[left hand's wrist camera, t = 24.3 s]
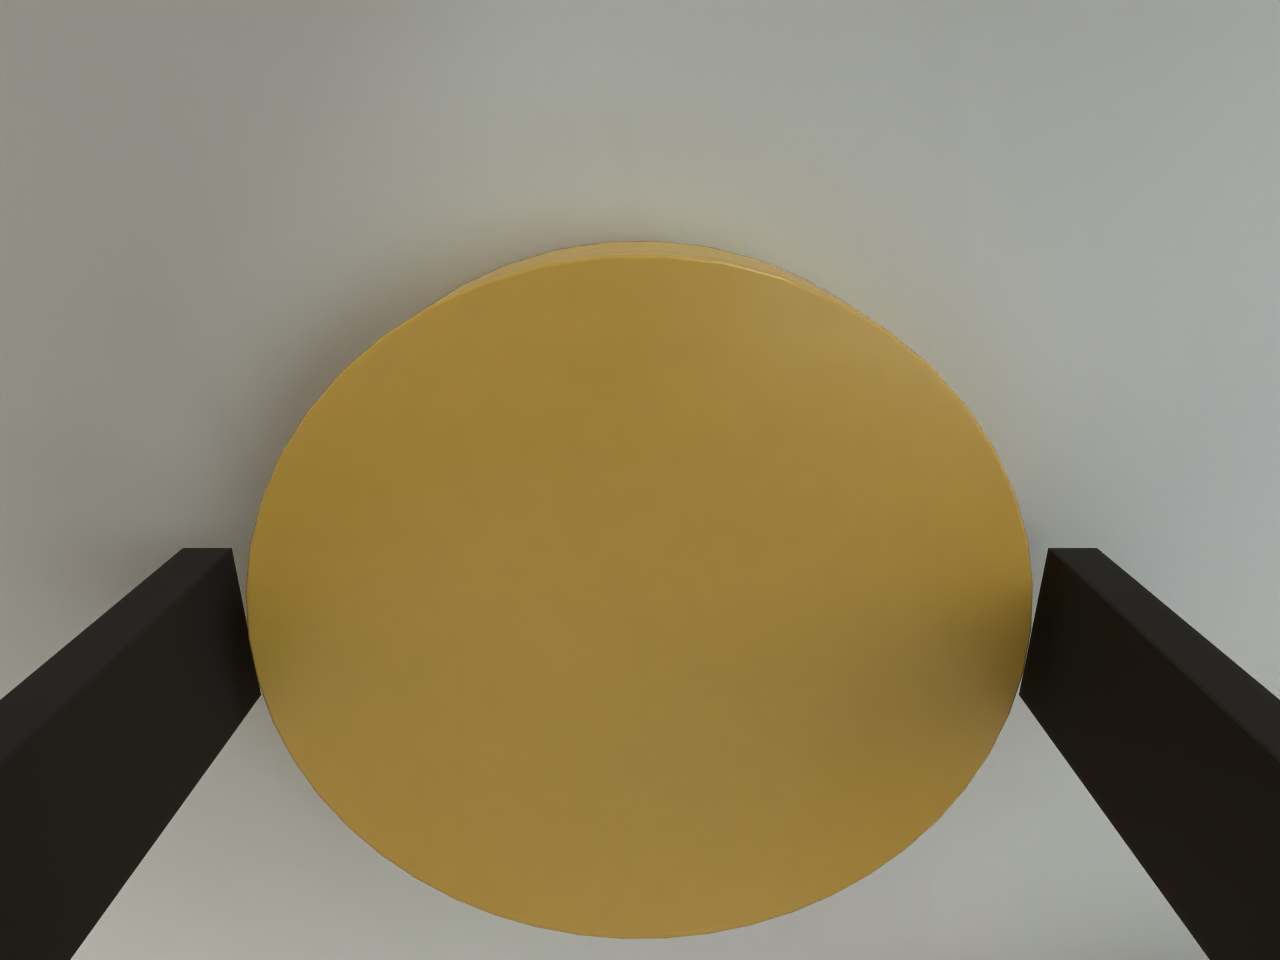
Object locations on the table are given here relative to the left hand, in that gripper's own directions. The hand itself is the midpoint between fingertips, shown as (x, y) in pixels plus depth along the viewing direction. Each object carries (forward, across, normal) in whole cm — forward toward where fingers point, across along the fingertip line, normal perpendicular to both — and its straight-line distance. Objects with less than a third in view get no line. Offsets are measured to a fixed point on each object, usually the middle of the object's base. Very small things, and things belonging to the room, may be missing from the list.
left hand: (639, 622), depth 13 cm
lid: (-1, 0, 0) cm, 1 cm away
